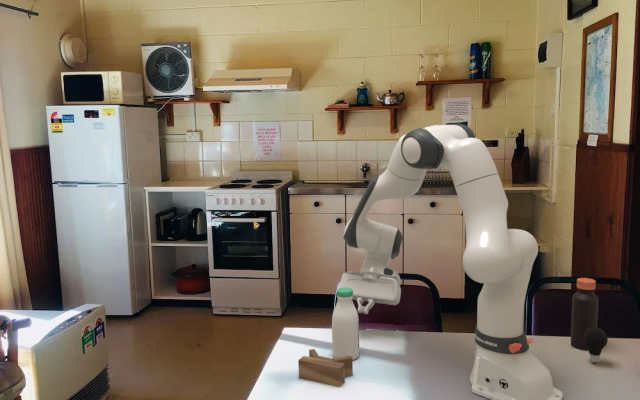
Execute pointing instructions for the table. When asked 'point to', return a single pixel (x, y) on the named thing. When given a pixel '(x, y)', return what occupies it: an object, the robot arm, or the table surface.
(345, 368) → the cradle
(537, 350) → the table surface
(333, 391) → the table surface
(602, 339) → the light bulb
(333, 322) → the milk bottle
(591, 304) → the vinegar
